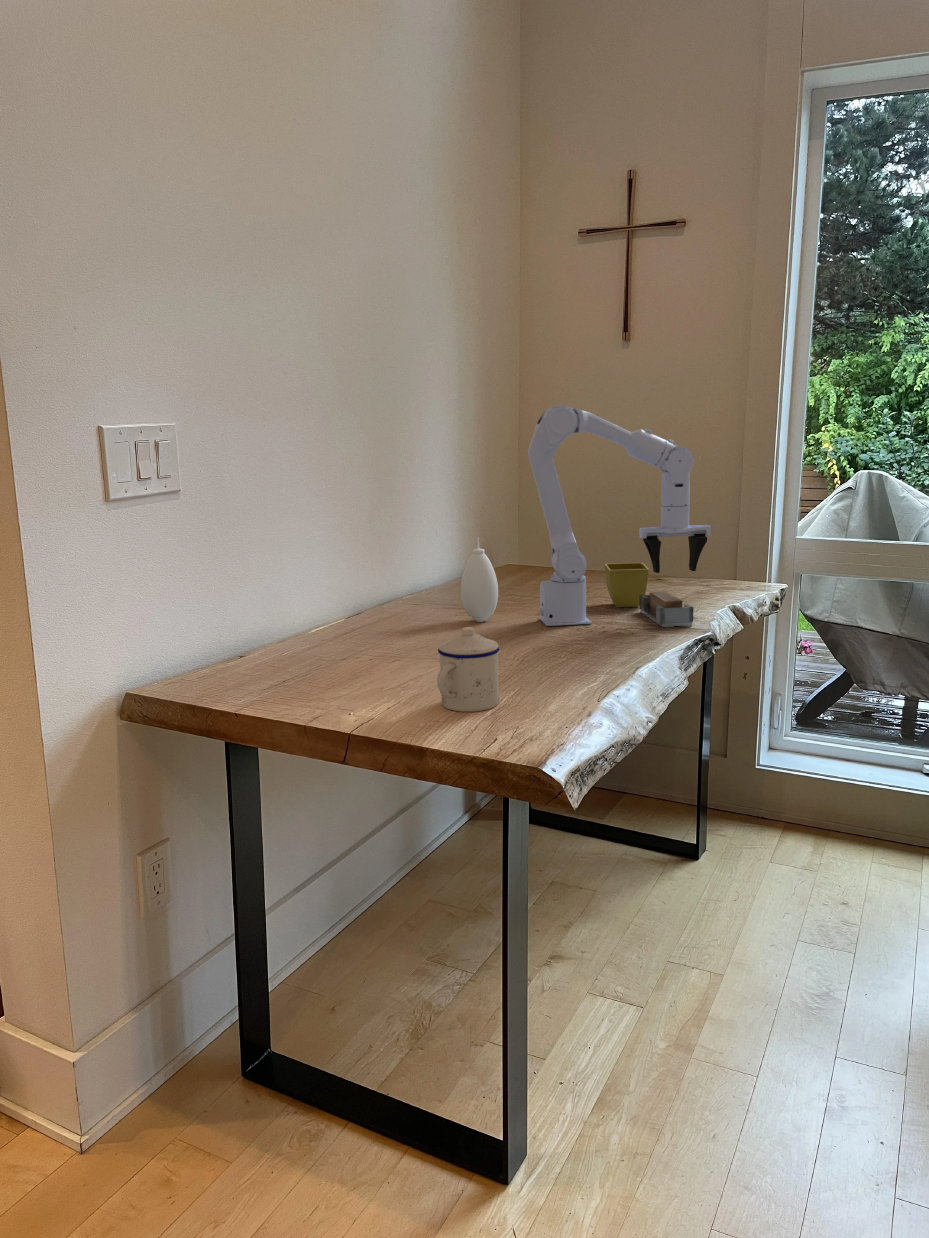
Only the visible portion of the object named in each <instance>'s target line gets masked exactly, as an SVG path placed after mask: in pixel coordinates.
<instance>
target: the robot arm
mask: <svg viewBox="0 0 929 1238" xmlns="http://www.w3.org/2000/svg"><path fill="white" fill-rule="evenodd" d="M584 433H589V434H592V435H595V436H597V437H600V438H602V439H605V440H608V441H609V442H613V443H615V444H616V445H619V446H622V447H624V448H625V451H626V453H627V455H628V456H629V457H631V458H633V459H636V460H638V461H640V462H643V463H645V464H647V465H649V466H652V467H654V468H659V469H660V470H661V483H660V484H661V485H660V487H661V488H660V489H661V491H660V494H661V495H660V526H651V527H649V526H648V527H640V528H638V532H639V533H638V538H640V539H642V541H643V543H644V546H646V549H647V551H648V554H649V557H650V561H651V564H652V570H653V572H654V573H656V574H659V573H660V570H661V565H660V564H661V562H660V558H661V557H660V555H661V554H660V553H661V546H662V541H661V540H660V539H659V538H667V537H687V536H688V537H687V538H688V548H689V549H688V550H689V559H688V560H689V561H688V563H689V564H688V569H689V570H690V571H691V572H696V571H697V567H698V562H699V558H700V556H701V553H702V551H703V549H704V547H705V545H706V544H707V543H708V537H707V536H711V535H712V526H711V525H709V524H697V525H695V524H694V525H693V524H690V510H691V509H690V507H691V506H690V505H691V504H690V503H691V500H690V499H691V495H690V494H691V482H690V480H691V479H690V477H691V476H690V475H691V473H690V472H691V471H692V470H693V467H694V465H695V459H694V457H693V454H692V453H691V451H690V449H688V448H687V447H685V446H681V445H676V444H674V440H673V439H671V438H668V439H664V438H662V437H660V436H657V435H656V434H653V430H651V429H649V428H645V429H641V428H639V429H637V430H634V431H630V430H627V429H626V428H623V427H621V426H619V425H617V424H615V423H613V422H611V421H608V420H607V419H605V418H602V417H600V416H599V415H598V416H597V415H596V414H594V413H592V412H588V411H585V410H582V409H578V408H572V407H570V406H568V405H566V404H558V405H551V406H549V407H548V408H546V409H545V410H544V411H543V412H542V413H541V414H540V416H539V418H538V419H537V420H536V423H535V427H534V431H533V433H532V435H531V436H532V437H531V440H530V443H529V446H528V449H527V456H528V460H529V463H530V467H531V472H532V475H533V479H534V483H535V486H536V491H537V493H538V498H539V501H540V505H541V509H542V512H543V516H544V520H545V523H546V527H547V531H548V534H549V544H550V546H551V555H550V565H551V567H552V568H553V570H554V571H553V574H552V575H550V579H549V580H543V581H541V582H540V586H539V612H540V613H539V615H540V616H539V619H540V620H541V622H542V623H543V624H544V625H545V626H547V627H551V626H552V627H553V626H555V627H556V626H572V625H590V624H592V620H590V619H589V618H588V617H587V576H586V575H584V574H585V573H586V571H587V567H588V564H587V559H586V557H585V556H584V554H583V553H582V552H581V550H580V549H579V546H578V543H577V540H576V537H575V535H574V532H573V529H572V526H571V522H570V518H569V515H568V511H567V507H566V504H565V498H564V495H563V491H562V487H561V484H560V480H559V476H558V472H557V468H556V465H555V461H554V455H555V454H556V452H557V450H558V449H559V447H560V446H561V444H562V443H563V442H564V441H566V439H567V438H569V437H570V436H571V435H573V434H584Z"/></svg>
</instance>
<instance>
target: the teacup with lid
mask: <svg viewBox="0 0 929 1238" xmlns="http://www.w3.org/2000/svg"><path fill="white" fill-rule="evenodd" d="M460 632H461V633H460V634H456V635H455V636H453V637H452V638H451V639H448V640H445V641H443V642H442V643H440V644H439V646H438V649H437V651H438V654H439V667H440V668H439V672H438V673H437V678H436V680H437V688H438V690H439V691H438V692H439V693H440V696H441V697H440V698H441V705H442V706H443V707H444V708H445V709H448V710H451V711H454V712H463V713H466V712H467V713H474V712H476V713H477V712H482V711H488V710H490V709H493V708H495V707H496V706H497V705H498V704H499V703H500V690H499V689H500V687H499V684H500V682H499V680H500V679H499V651H500V647H499V644H498V643H497V641H496V640H493V639H491V638H486V637H484V636H483V635H481V634H479V633H476V629H475V628H474V627H471V626H467V627H462V628H461V631H460Z"/></svg>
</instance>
